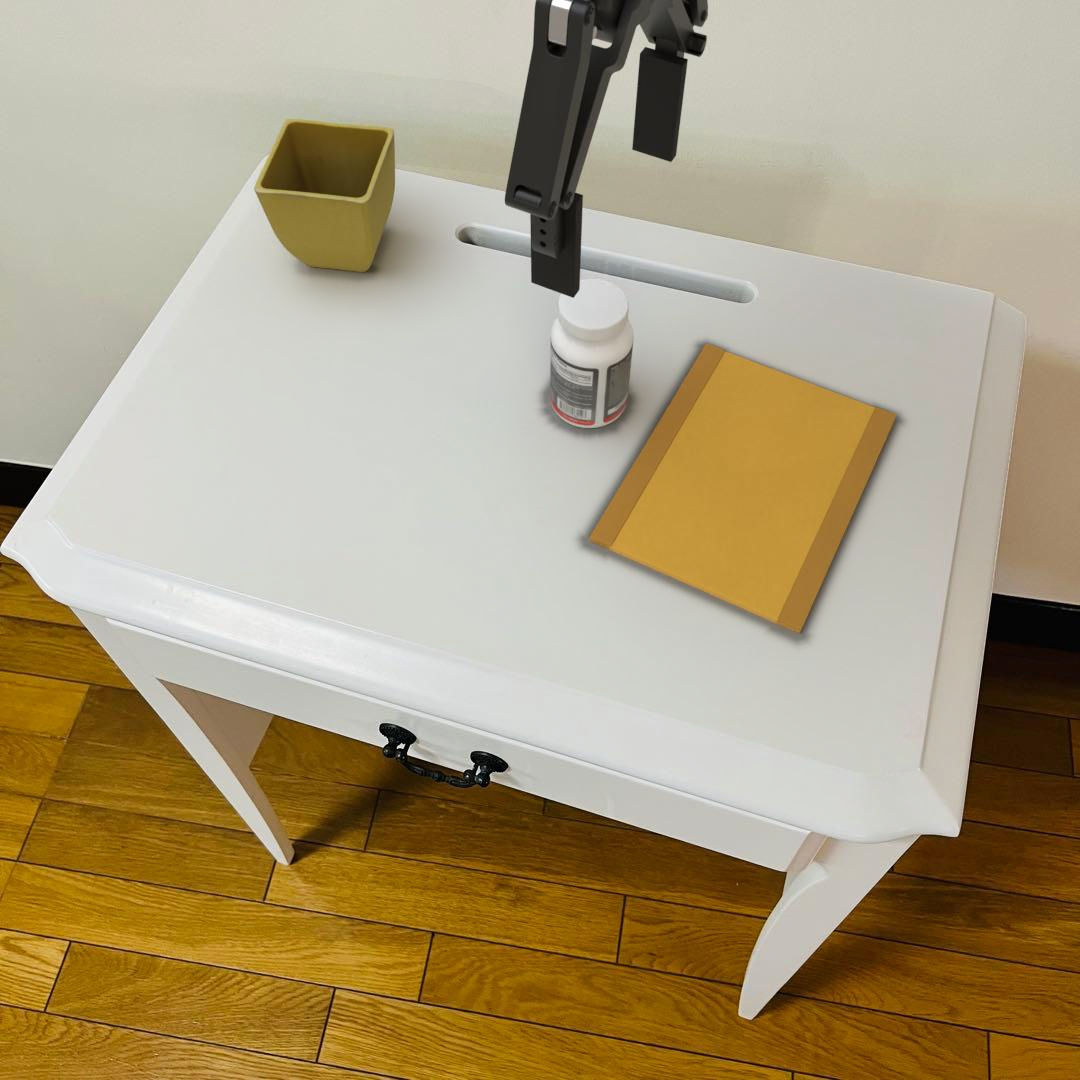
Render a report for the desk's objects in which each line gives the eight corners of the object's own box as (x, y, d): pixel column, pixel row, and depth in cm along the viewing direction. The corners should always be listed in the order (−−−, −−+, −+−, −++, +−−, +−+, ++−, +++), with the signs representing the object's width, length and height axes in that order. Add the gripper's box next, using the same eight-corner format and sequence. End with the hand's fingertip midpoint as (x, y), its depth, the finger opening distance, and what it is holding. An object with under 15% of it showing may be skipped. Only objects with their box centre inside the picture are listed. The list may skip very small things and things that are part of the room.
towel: (894, 419, 76) (897, 414, 76) (799, 634, 67) (801, 629, 66) (705, 348, 80) (706, 342, 80) (589, 541, 70) (589, 536, 70)
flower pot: (276, 281, 84) (250, 188, 76) (306, 209, 88) (285, 115, 81) (383, 293, 83) (367, 201, 76) (408, 220, 88) (395, 127, 80)
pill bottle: (611, 364, 79) (620, 264, 71) (638, 420, 76) (651, 322, 68) (539, 382, 78) (539, 283, 70) (564, 439, 75) (567, 342, 67)
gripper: (669, -300, 52) (637, 88, 70) (404, -72, 40) (447, 327, 58) (812, -272, 50) (742, 120, 68) (580, -24, 38) (569, 375, 56)
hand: (607, 216), depth 63 cm, fingers open, 13 cm apart
